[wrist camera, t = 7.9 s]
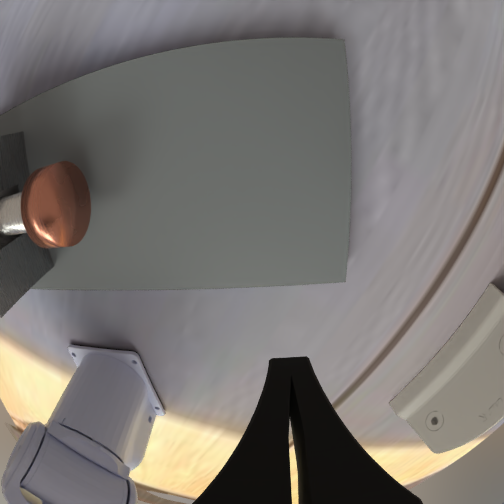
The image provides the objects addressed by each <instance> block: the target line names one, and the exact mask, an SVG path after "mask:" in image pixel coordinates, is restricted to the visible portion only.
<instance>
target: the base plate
mask: <svg viewBox="0 0 504 504" xmlns="http://www.w3.org/2000/svg"><path fill="white" fill-rule="evenodd" d="M22 131H23V132H24V141H25V148H26V155H27V161H28V167H29V173H30V175H31V174H32V173H33V172H34V171H35V170H36V169H39V168H41V167H44V166H48V165H51V164H54V163H58V162H61V161H69V162H71V163H73V164H75V165H76V166H77V167H78V168H79V169H80V170H81V172H82V173H83V175H84V177H85V179H86V181H87V184H88V187H89V192H90V198H91V216H90V222H89V226H88V229H87V232H86V234H85V236H84V237H83V239H82V240H81V241H80V242H79V243H78V244H76V245H74V246H70V247H59V248H48V249H49V252H50V255H51V258H52V261H53V264H54V267H53V268H52V269H51V270H50V271H48V272H47V273H46V274H45V275H44V276H43V277H42V278H41V279H40V280H39V281H38V282H37V283H36V284H35V285H33V286H32V287H31V288H30V289H52V290H183V289H220V288H247V287H270V286H289V285H307V284H323V283H339V282H346V272H347V260H348V247H349V230H350V207H351V122H350V101H349V85H348V72H347V61H346V51H345V42H344V39H330V38H303V37H287V38H259V39H245V40H234V41H225V42H217V43H209V44H203V45H196V46H190V47H185V48H180V49H175V50H170V51H165V52H161V53H156V54H152V55H148V56H144V57H140V58H136V59H133V60H129V61H126V62H122V63H119V64H116V65H113V66H110V67H107V68H104V69H101V70H98V71H95V72H92V73H89V74H87V75H84V76H81V77H79V78H76V79H74V80H71V81H69V82H66V83H64V84H62V85H59V86H57V87H55V88H52V89H50V90H48V91H46V92H44V93H42V94H40V95H37V96H35V97H33V98H31V99H29V100H27V101H26V102H24V103H22V104H20V105H18V106H16V107H14V108H12V109H11V110H9V111H7V112H5V113H4V114H2V115H0V136H3V135H8V134H12V133H17V132H22Z"/></svg>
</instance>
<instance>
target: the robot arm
mask: <svg viewBox="0 0 504 504" xmlns="http://www.w3.org/2000/svg"><path fill="white" fill-rule="evenodd" d="M68 351H69V352H70V354H71V356H72V358H73V360H74V361H75V363H76V365H77V367H78V368H77V370H76V372H75V373H74V375H73V377H72V378H71V380H70V382H69V384H68V385H67V387H66V389H65V391H64V393H63V394H62V396H61V398H60V400H59V402H58V403H57V405H56V407H55V409H54V411H53V413H52V415H51V417H50V418H49V420H48V422H47V424H45V425H43V424H42V423H41V422H39V421H38V422H34V423H30V424H29V425H28V426H27V427H26V429H25V430H24V432H23V433H22V435H21V436H20V438H19V440H18V442H17V443H16V445H15V447H14V449H13V451H12V453H11V456H10V458H9V461H8V463H7V467H6V470H5V472H4V474H3V477H2V481H1V486H2V493H3V495H4V497H5V499H6V501H7V502H8V504H137V503H138V495H137V491H136V486H135V484H134V481H133V480H132V479H131V478H130V477H128V476H129V473H130V471H131V470H133V469H135V468H136V467H137V466H138V465H139V464H140V463H141V461H142V460H143V458H144V455H145V451H146V448H147V444H148V441H149V438H150V434H151V431H152V427H153V424H154V421H155V417H156V415H159V416H163V415H165V410H164V408H163V406H162V404H161V402H160V400H159V398H158V396H157V394H156V392H155V390H154V388H153V386H152V384H151V382H150V380H149V377H148V375H147V373H146V371H145V369H144V366H143V364H142V362H141V360H140V357H139V355H138V354H137V353H136V352H133V351H121V350H111V349H101V348H93V347H85V346H77V345H69V346H68ZM289 420H290V421H291V427H292V434H293V441H294V448H295V454H296V461H297V470H298V495H299V504H423V503H422V501H421V499H420V498H418V497H417V496H416V495H414V494H412V493H411V492H410V491H409V490H407V489H406V488H405V487H403V486H402V485H401V484H399V483H398V482H397V481H396V480H395V479H394V478H392V477H391V476H390V475H389V474H388V473H387V472H386V471H385V470H384V469H383V468H382V467H381V466H380V465H379V464H378V463H377V462H376V461H375V460H374V459H373V458H372V457H371V456H370V455H369V454H368V453H367V452H366V451H365V450H364V449H363V448H362V446H361V445H360V444H359V443H358V442H357V440H356V439H355V438H354V437H353V436H352V434H351V433H350V432H349V430H348V429H347V428H346V426H345V425H344V423H343V422H342V420H341V419H340V417H339V416H338V414H337V413H336V411H335V410H334V408H333V407H332V405H331V403H330V402H329V400H328V398H327V396H326V395H325V393H324V391H323V389H322V387H321V385H320V383H319V381H318V379H317V377H316V375H315V373H314V370H313V368H312V365H311V363H310V360H309V358H308V357H290V358H272V359H271V360H269V367H268V373H267V377H266V381H265V384H264V388H263V391H262V394H261V396H260V399H259V402H258V405H257V407H256V410H255V412H254V414H253V416H252V418H251V421H250V423H249V425H248V427H247V429H246V431H245V433H244V435H243V437H242V438H241V440H240V442H239V444H238V445H237V447H236V449H235V450H234V452H233V453H232V455H231V456H230V458H229V459H228V461H227V462H226V464H225V465H224V467H223V468H222V470H221V471H220V472H219V474H218V475H217V476H216V477H215V479H214V480H213V481H212V482H211V483H210V485H209V486H208V487H207V488H206V489H205V491H204V492H203V493H202V494H201V495H200V496H199V497H198V498H197V499H196V500H195V501H194V502H193V503H192V504H292V497H291V478H290V458H289V439H288V436H289ZM503 504H504V503H503Z"/></svg>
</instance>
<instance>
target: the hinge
mask: <svg viewBox="0 0 504 504" xmlns="http://www.w3.org/2000/svg"><path fill="white" fill-rule="evenodd" d="M389 404H390V406H391V407H392V409H393V411H394V412H395V414H396V415H397V416H399V417H401V418H403V419H405V420H406V421H407V422H408V423H409V425H410V426H411V427H412V428H413V429H414V431H415V432H416V433H417V434H418V435H419V437H420V438H421V439H422V440H423V441H424V443H425V444H426V445H427V446H428V447H429V449H430V450H431V451H432V452H434V453H443V452H446V451H449V450H452V449H455V448H457V447H460V446H462V445H464V444H466V443H468V442H470V441H472V440H474V439H476V438H477V437H479V436H481V435H482V434H484V433H485V432H487V431H488V430H489V429H491V428H492V427H493V426H494V425H496V424H497V423H498V422H499V421H500V420H501V419H502V418H503V417H504V293H502V292H501V291H500V290H499V289H498V288H497V287H496V286H495V285H494V284H492V283H490V284H489V286H488V287H487V289H486V290H485V292H484V293H483V295H482V296H481V298H480V299H479V301H478V302H477V303H476V305H475V306H474V308H473V309H472V310H471V312H470V313H469V315H468V316H467V317H466V319H465V320H464V321H463V322H462V324H461V325H460V326H459V328H458V329H457V330H456V331H455V333H454V334H453V335H452V336H451V338H450V339H449V340H448V341H447V343H446V344H445V345H444V346H443V347H442V348H441V350H440V351H439V352H438V353H437V354H436V355H435V356H434V358H433V359H432V360H431V361H430V362H429V363H428V364H427V365H426V366H425V367H424V369H423V370H422V371H421V372H420V373H419V374H418V375H417V376H416V377H415V378H414V379H413V380H412V381H411V382H410V383H409V384H408V385H407V386H406V387H405V388H404V389H403V390H402V391H401V392H400V393H399V394H398V395H397V396H396V397H395V398H394V399H393V400H391V401H390V402H389Z"/></svg>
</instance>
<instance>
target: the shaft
mask: <svg viewBox="0 0 504 504" xmlns="http://www.w3.org/2000/svg"><path fill="white" fill-rule="evenodd" d="M90 216H91V198H90V192H89V187H88V184H87V181H86V179H85V177H84V175H83V173H82V172H81V170H80V169H79V168H78V167H77V166H76V165H75V164H73V163H71V162H69V161H61V162H58V163H54V164H51V165H48V166H44V167H41V168H39V169H36V170H35V171H34V172H33V173H32V174H31V175H30V176H29V177H28V179H27V180H26V182H25V185H24V187H23V191H22V192H19V193H16V194H12V195H9V196H6V197H3V198H0V237H3V236H9V235H16V234H22V233H27V234H28V235H29V237H30V238H31V240H32V241H33V242H34V243H35V244H37V245H38V246H40V247H42V248H59V247H70V246H74V245H76V244H78V243H79V242H80V241H81V240H82V239H83V237H84V236H85V234H86V232H87V229H88V226H89V222H90Z"/></svg>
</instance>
